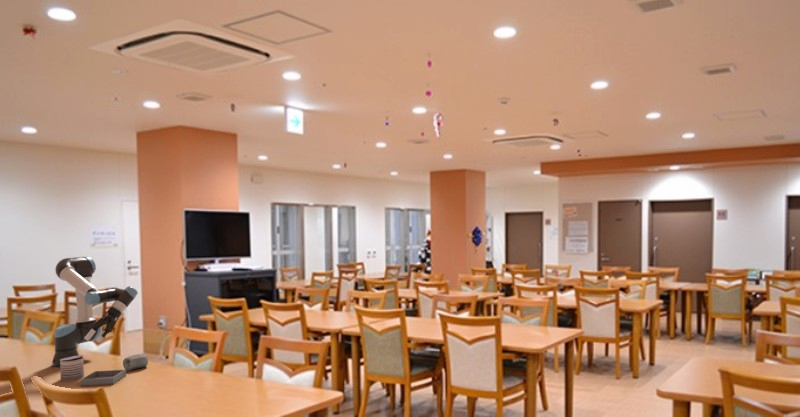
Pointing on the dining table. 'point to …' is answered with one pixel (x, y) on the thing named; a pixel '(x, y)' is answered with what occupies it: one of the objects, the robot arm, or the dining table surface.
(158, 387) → the dining table surface
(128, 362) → the spool
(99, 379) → the tray
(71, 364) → the can
